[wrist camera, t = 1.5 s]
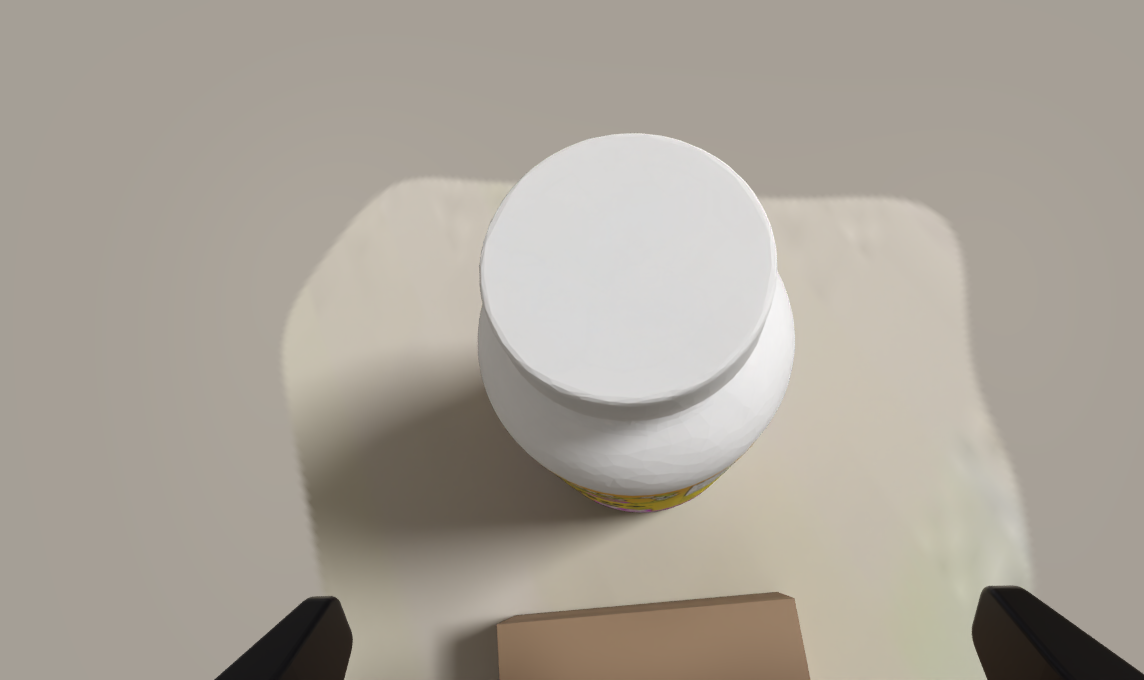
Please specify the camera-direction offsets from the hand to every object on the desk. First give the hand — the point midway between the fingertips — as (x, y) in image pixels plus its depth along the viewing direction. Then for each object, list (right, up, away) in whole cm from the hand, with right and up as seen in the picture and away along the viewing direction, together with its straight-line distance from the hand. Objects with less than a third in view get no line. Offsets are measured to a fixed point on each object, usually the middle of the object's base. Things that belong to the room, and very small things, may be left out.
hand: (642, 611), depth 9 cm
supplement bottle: (+1, +1, +13) cm, 13 cm away
